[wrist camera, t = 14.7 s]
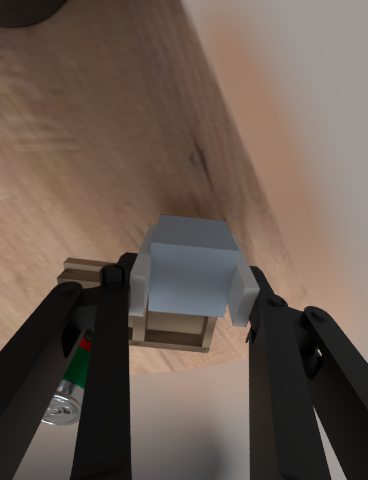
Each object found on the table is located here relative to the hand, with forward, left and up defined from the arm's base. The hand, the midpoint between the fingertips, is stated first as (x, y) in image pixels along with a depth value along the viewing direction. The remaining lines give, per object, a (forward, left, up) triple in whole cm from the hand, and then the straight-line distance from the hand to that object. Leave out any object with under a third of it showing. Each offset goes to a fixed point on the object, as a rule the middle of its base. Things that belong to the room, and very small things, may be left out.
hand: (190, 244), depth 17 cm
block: (0, 0, -1) cm, 1 cm away
